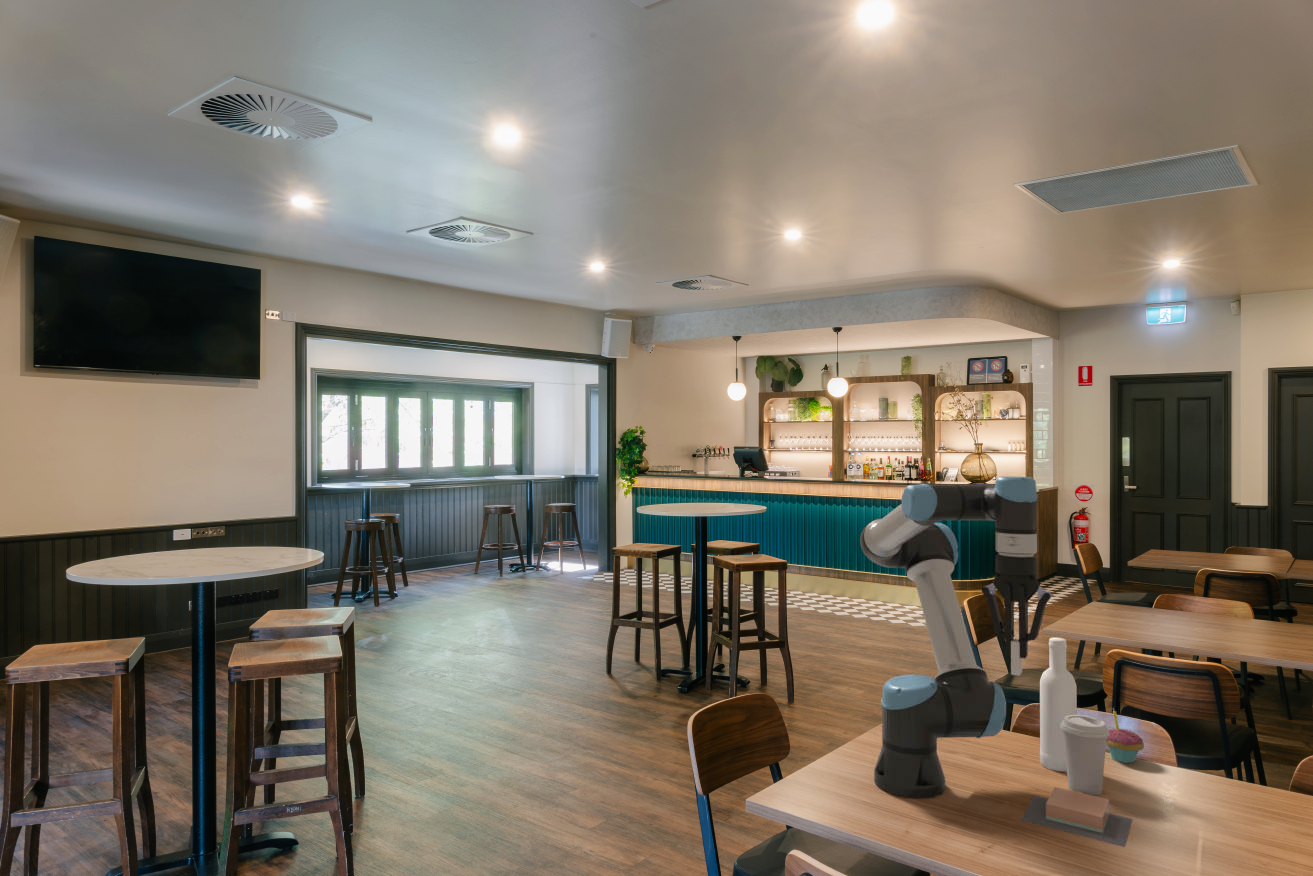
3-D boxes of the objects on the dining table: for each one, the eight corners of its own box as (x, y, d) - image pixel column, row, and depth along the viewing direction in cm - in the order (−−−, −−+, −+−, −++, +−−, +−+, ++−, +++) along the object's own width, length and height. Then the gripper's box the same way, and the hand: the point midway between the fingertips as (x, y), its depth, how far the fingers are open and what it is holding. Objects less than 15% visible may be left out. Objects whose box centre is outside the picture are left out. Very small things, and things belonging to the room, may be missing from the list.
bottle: (1078, 763, 188) (1077, 637, 188) (1076, 775, 181) (1075, 644, 182) (1041, 757, 192) (1040, 633, 193) (1038, 767, 185) (1037, 640, 186)
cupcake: (1101, 760, 190) (1100, 710, 190) (1104, 750, 197) (1104, 702, 197) (1143, 769, 185) (1142, 717, 185) (1145, 757, 192) (1144, 708, 192)
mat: (1020, 822, 157) (1020, 819, 157) (1034, 798, 168) (1034, 795, 168) (1124, 849, 147) (1124, 846, 147) (1132, 821, 158) (1132, 818, 158)
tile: (1045, 803, 158) (1054, 786, 166) (1045, 818, 158) (1054, 801, 166) (1102, 817, 152) (1109, 799, 160) (1102, 833, 152) (1109, 814, 160)
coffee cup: (1116, 800, 168) (1116, 729, 168) (1068, 796, 170) (1067, 726, 170) (1100, 782, 177) (1100, 715, 178) (1055, 778, 179) (1054, 712, 179)
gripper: (976, 553, 157) (977, 672, 156) (1048, 558, 149) (1049, 683, 149) (986, 549, 163) (986, 664, 162) (1055, 554, 155) (1056, 674, 155)
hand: (1016, 673), depth 155 cm, fingers closed
